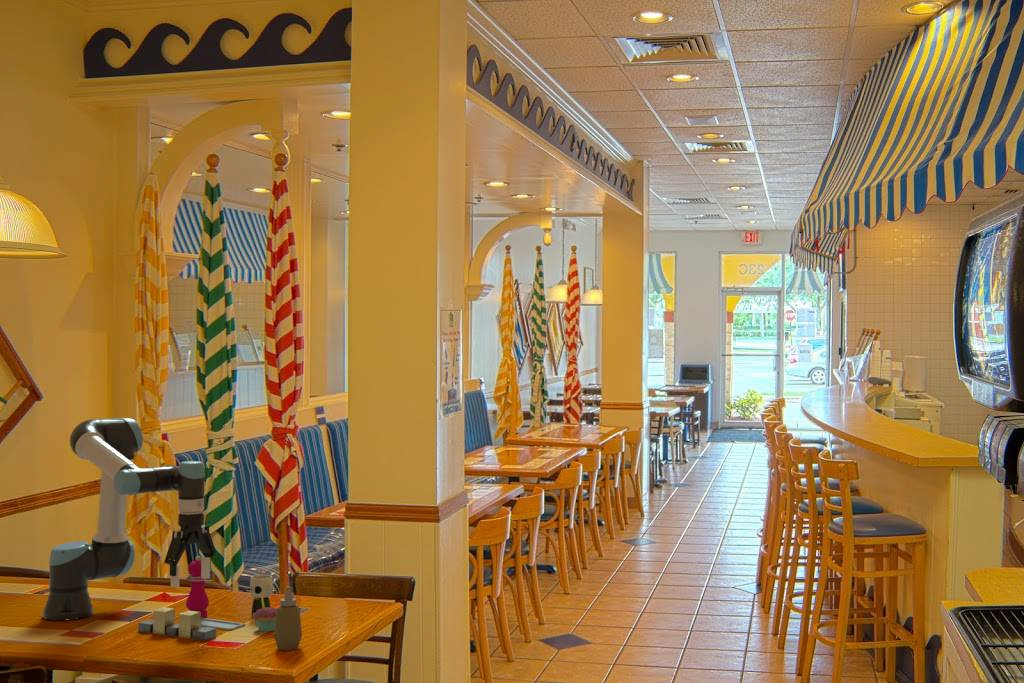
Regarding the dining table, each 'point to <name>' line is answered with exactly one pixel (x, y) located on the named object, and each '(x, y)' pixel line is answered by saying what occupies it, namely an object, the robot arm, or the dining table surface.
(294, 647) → the squeeze bottle
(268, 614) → the cupcake
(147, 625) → the gray notched bar
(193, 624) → the beige rectangular block
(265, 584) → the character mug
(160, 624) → the cream upright block
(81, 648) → the dining table surface
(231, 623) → the tray
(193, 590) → the pepper mill
